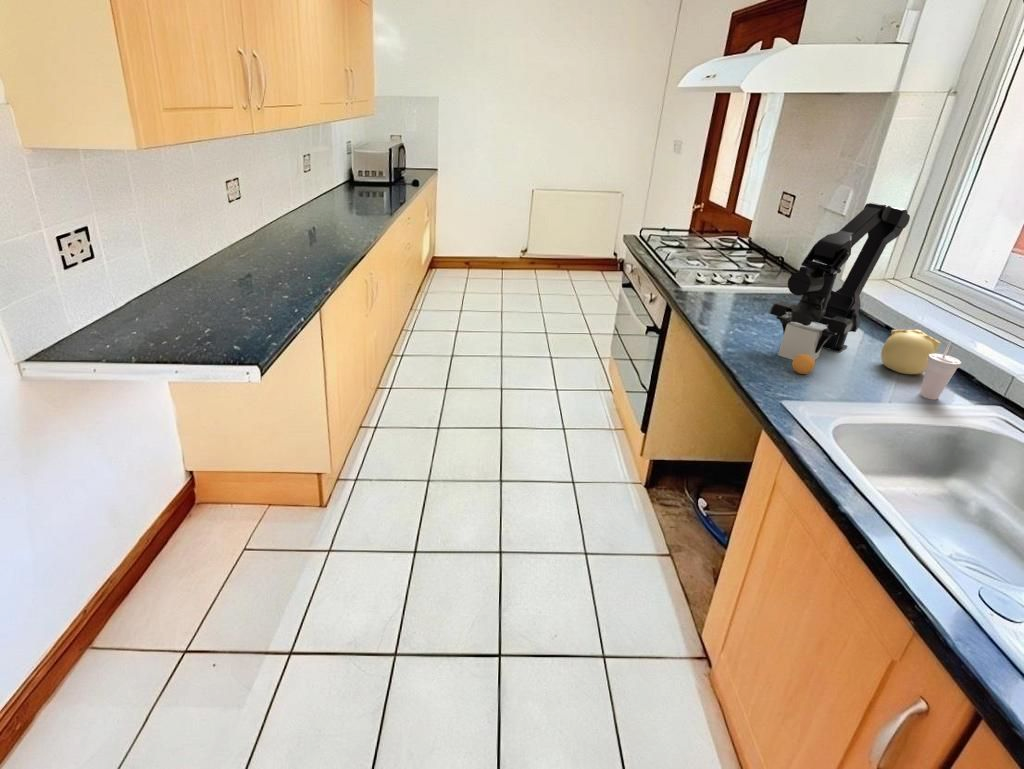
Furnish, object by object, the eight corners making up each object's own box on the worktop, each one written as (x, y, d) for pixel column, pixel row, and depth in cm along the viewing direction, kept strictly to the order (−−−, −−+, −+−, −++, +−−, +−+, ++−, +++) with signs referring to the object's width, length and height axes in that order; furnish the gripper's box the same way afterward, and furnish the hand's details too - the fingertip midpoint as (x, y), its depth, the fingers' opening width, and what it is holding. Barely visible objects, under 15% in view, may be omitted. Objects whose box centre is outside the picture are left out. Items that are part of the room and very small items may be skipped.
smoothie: (932, 390, 138) (955, 336, 132) (951, 402, 133) (976, 347, 126) (906, 389, 138) (929, 335, 132) (925, 401, 132) (949, 345, 126)
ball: (794, 367, 146) (800, 349, 144) (814, 374, 143) (820, 355, 140) (786, 372, 143) (792, 353, 140) (806, 379, 139) (813, 360, 137)
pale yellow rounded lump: (931, 371, 150) (948, 332, 145) (921, 383, 142) (938, 343, 137) (883, 357, 157) (897, 319, 152) (870, 368, 149) (885, 329, 144)
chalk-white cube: (789, 348, 158) (798, 318, 154) (818, 357, 153) (828, 326, 149) (777, 355, 153) (786, 324, 149) (807, 364, 148) (817, 332, 144)
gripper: (768, 286, 146) (753, 343, 152) (846, 306, 134) (826, 366, 141) (786, 279, 153) (771, 334, 160) (862, 298, 141) (841, 356, 148)
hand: (800, 347), depth 152 cm, fingers closed on chalk-white cube, 8 cm apart
